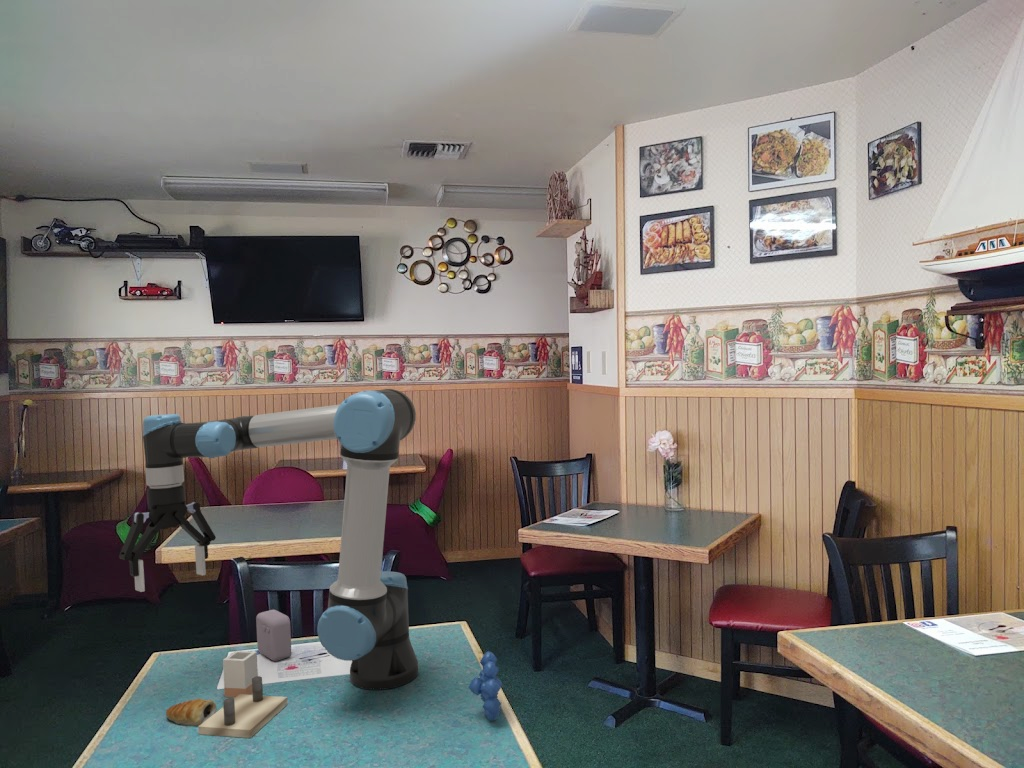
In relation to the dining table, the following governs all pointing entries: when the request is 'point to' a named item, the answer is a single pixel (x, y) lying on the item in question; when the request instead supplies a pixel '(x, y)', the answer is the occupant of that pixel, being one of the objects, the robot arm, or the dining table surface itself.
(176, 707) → the pastry
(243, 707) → the pin board
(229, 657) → the sleeve
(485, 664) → the grapes
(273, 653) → the electronic device
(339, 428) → the robot arm
